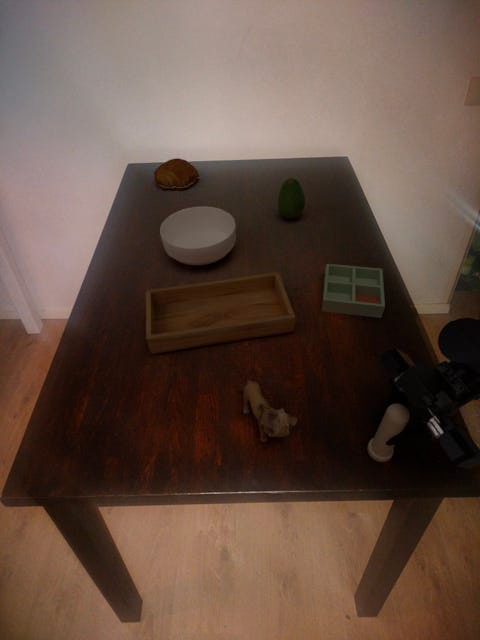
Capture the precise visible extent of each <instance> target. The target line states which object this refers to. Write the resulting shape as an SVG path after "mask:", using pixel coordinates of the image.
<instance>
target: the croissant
mask: <svg viewBox="0 0 480 640" xmlns="http://www.w3.org/2000/svg"><path fill="white" fill-rule="evenodd" d="M153 175H154V177H153V178H154V182H155V184H156V183H157V184H158V185H162V186H164V187H173V186H176V187H184V186H187V185H189V184H191V183H193V182H194V181H195V180H196V179H197V177H198V178H199V177H200V173H199V172H198V170H197V169H196V167H195V166H194V165H192V164H191V163H190V162H188V160H186V159H183V158H180V157H175V158H171V159H168V160H167V161H164V163H162V164H160V165H159V166H158V167H157V168H155V170H154V172H153ZM157 184H156V185H157ZM158 185H157V186H158ZM193 185H195V183H193V184H191V185H190V186H188V187H185V188H176V187H175V188H162V187H161V186H158V188H159V189H161V190H171V191H172V190H174V191H178V192H179V191H183V190H185V189H188V188H189V187H192V186H193Z"/></svg>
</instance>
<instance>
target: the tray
mask: <svg viewBox="0 0 480 640" xmlns="http://www.w3.org/2000/svg"><path fill="white" fill-rule="evenodd" d="M145 314H146V315H145V322H146V323H145V335H146V336H145V339H146V342H147V346H148V348H149V352H150V353H151V355H154V354H161V353H167V352H172V351H180V350H185V349H191V348H199V347H205V346H212V345H218V344H223V343H231V342H238V341H244V340H251V339H258V338H264V337H265V338H266V337H270V336H271V337H272V336H278V335H284V334H290V333H294V332H295V327H296V326H295V324H296V314H295V312H294V309H293V307H292V304H291V301H290V299H289V297H288V294H287V291H286V289H285V286H284V283H283V281H282V278H281V276H280V274H279V272H278V271H277V272H276V271H275V272H267V273H260V274H253V275H246V276H238V277H231V278H224V279H217V280H209V281H203V282H195V283H188V284H179V285H173V286H166V287H159V288H151V289H147V290H146V289H145Z"/></svg>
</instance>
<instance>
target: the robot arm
mask: <svg viewBox="0 0 480 640" xmlns="http://www.w3.org/2000/svg"><path fill="white" fill-rule="evenodd" d="M478 318H479V319H477V318H472V317H461V318H457V319H454V320H450V321H448V322H447V323H446V324H445V325H444V326H443V327H442V328H441V330H440V332H439V333H438V337H437V346H438V349H439V351H440V354H442V356H443V357H445V358H446V359H447V360H449V361H447V360H443V361H441V362H439V363H437V364H436V365H434V366H429V365H416V364H415V362H414V361H413V360H412V358H411V357H410V356H409V355H408V354H406V353H405V352H403V351H402V350H399V349H398V348H397V347H391V348H387V349H386V350H384V351H383V352H381V353H380V354H379V355H378V358H379V359H380V361H381V363H383V365H384V366H385V368H386V369H387V371H389V372H395V373H398V374H399V375H397V376H396V377H394V378H392V377H391V378H390V379H389V383H390V384H391V390H390V395H389V397H388V399H387V401H386V402H385V404H384V406H383V407H382V409H381V410H380V412H379V413H378V415H377V416H376V418H375V419H374V421H373V425H374V426H376V427H379V426H380V423H381V421H382V419H383V417H384V415H385V412H386V410H387V408H388V407H389V406H390V405H392V404H402V405H404V406H405V407H406V408H407V409H408V408H409V407H410V406H412V407H413V408H415V409H424V411H425V412H426V413H427V415H428V417H430V419H428V421H427V422H426V421H424V420H422V419H418V420H417V421H416V422H415V423H414V424H413V425H412V426H411V427H408V428H407V429H404V430H403V431H402V432H401V433H399V434H398V435H396V436H394V437H392V438H391V439H389V440H388V441H387V442H386V445H388V446H392V445H395V446H396V445H403V444H408V443H412V442H419V441H432V442H434V443H438V444H439V446H440V447H441V448H442V450H443V451H444V453H445V454H446V455H447V457H448V458H449V460H450V461H451V463H453V464H454V465H455V467H459V468H462V469H463V468H464V469H467V470H472V468H474V467H476V466H478V465H479V464H480V447H479V446H478V445H477V444H476V442H475V441H474V440H473V438H472V437H471V436H470V434H469V433H468V432H467V431H464V430H462V429H459V428H457V427H455V425H454V424H453V423H452V421H451V420H450V419H449V417H453V416H455V415H457V413H458V412H457V411H458V410H459V409H461V408H462V407H464V406H466V405H467V404H469V403H470V402H472V401H478V400H479V399H480V315H479V316H478Z"/></svg>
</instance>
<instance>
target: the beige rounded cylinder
mask: <svg viewBox="0 0 480 640" xmlns="http://www.w3.org/2000/svg"><path fill="white" fill-rule="evenodd" d="M410 414H411V413H410V411H409V409H408V407H407V408H406V407H405V406H404V405H402V404H392V405H390V406H389V407H388V408H387V410H386V412H385V415H384V417H383V419H382V421H381V423H380V425H379V426H378V427H377V429H376V432H375V435H374V437H372V438H371V439H370V440H369V442H368V444H367V448H366V449H367V452H368V455H369V456H370V458H372V459H373V460H374V461H376V462H379V463H386V462H389V461H390V460H391V459H392V458H393V455H394V449H395V446H396V445H392V446H388V445H386V442H387V441H388V440H389V439H391V438H392V437H394V436H396V435H398V434H399V433H401V432H403V431H405V428H406V426H407V425H408V422H409V421H410V417H411V415H410Z"/></svg>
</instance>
